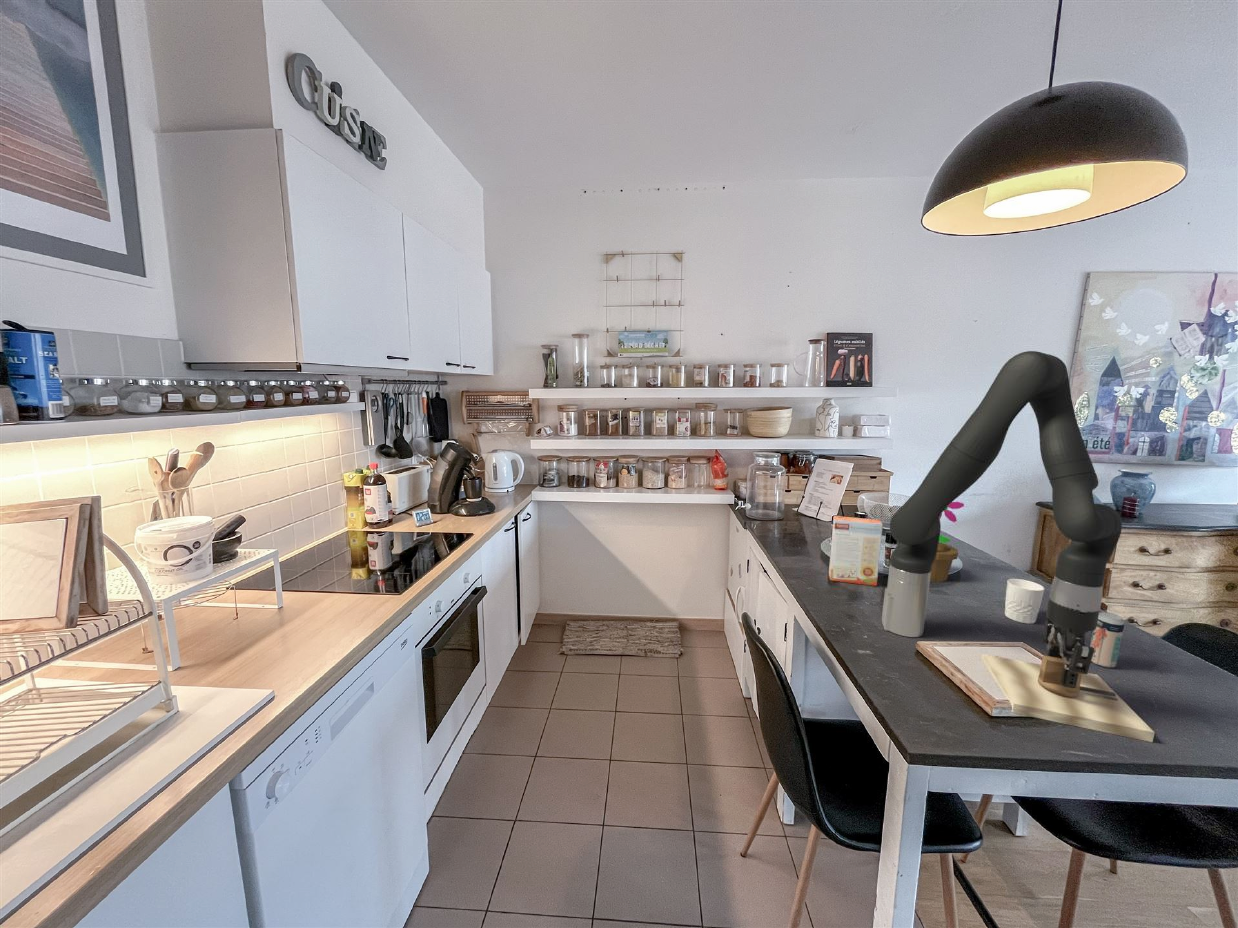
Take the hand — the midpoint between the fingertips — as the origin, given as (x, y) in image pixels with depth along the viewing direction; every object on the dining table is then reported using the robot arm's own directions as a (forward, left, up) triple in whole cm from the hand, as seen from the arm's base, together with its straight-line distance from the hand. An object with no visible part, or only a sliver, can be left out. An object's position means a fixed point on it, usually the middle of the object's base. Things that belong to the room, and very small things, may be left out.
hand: (1060, 676), depth 100 cm
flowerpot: (-10, +65, -5) cm, 66 cm away
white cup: (+7, +40, -5) cm, 41 cm away
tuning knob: (+3, 0, -2) cm, 4 cm away
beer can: (+16, +20, -5) cm, 26 cm away
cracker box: (-35, +50, -5) cm, 61 cm away
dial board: (0, 0, -5) cm, 5 cm away
